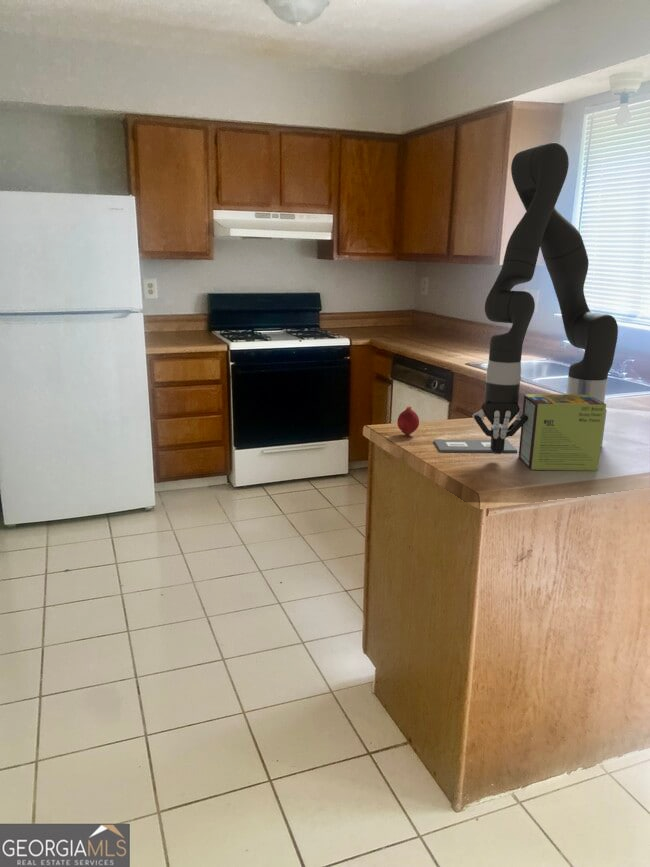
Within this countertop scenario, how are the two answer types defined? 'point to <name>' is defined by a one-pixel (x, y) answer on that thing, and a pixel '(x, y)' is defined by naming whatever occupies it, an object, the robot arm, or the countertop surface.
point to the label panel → (470, 446)
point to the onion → (408, 421)
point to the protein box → (561, 432)
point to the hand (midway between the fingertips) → (496, 452)
